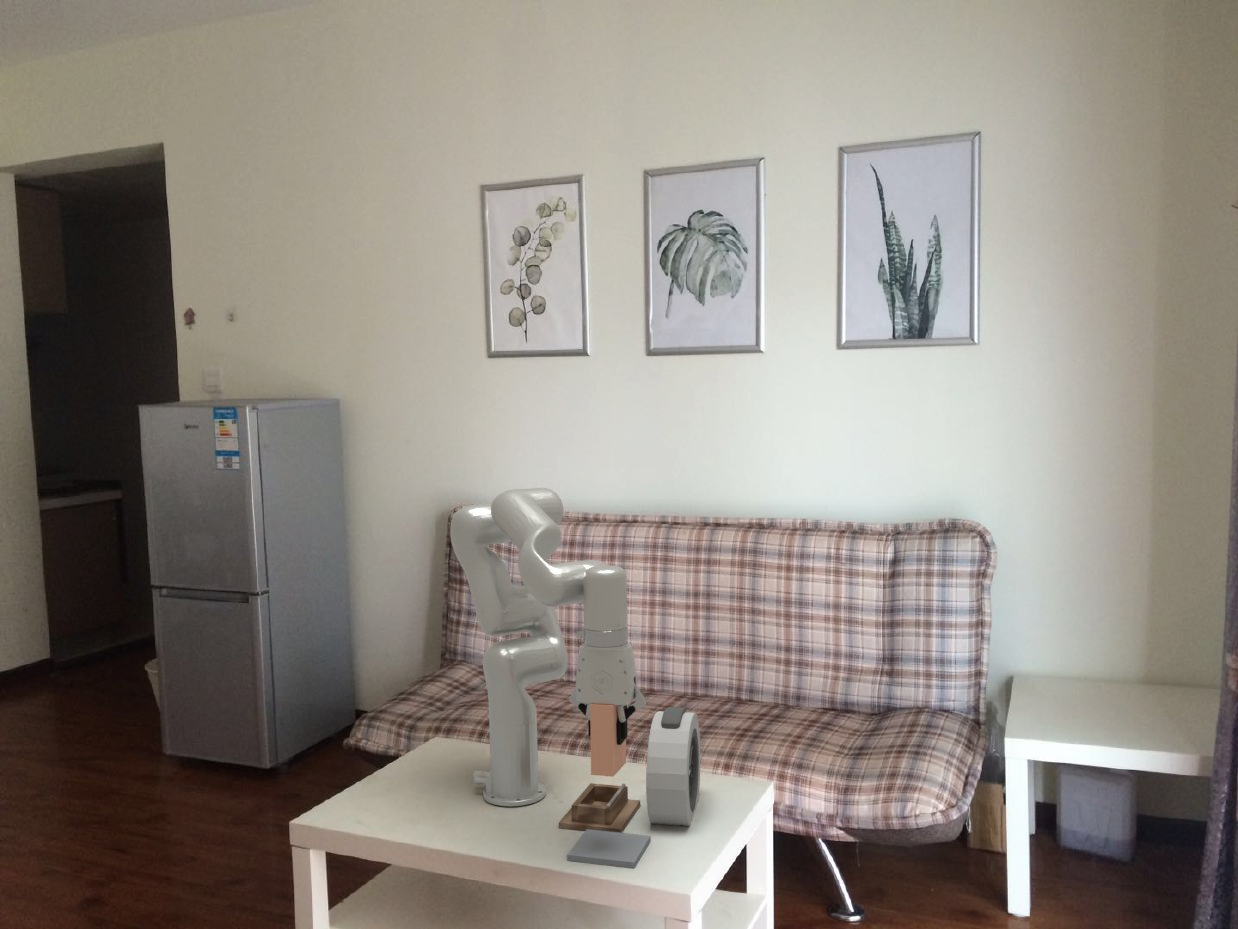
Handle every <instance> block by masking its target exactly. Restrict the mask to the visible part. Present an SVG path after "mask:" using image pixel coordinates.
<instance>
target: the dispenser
mask: <svg viewBox="0 0 1238 929" xmlns="http://www.w3.org/2000/svg"><path fill="white" fill-rule="evenodd" d="M628 788H629V787H628V786H627V785H626V784H625V783H623V784H621V785H613V784H603V783H593V782H590V783H589V784H588V786H586V788H584V790H583V791H582V792H581V793H580V795H579V796H578V797H577V799H576V800H574V802H573V803H572V804H571V807H570V808H569V810H568V811H567V812H566V813H565V814H564V816H563V817H561V819H560V820H559V822H558V829H564V830H565V829H566V830H573V831H574V830H575V831H584V832H585V831H586V830H587V829H590V830H599V831H609V832H619V833H624V830H625V829H626V827H627V826H628V824H629V823H630V821H631V820H632V819H633V817H634V816H635V814H636V813H637V811H638V810H639V808H640V807H641V800H640V799H629V796H628V794H629V789H628ZM639 806H640V807H639ZM637 809H638V810H637Z"/></svg>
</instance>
